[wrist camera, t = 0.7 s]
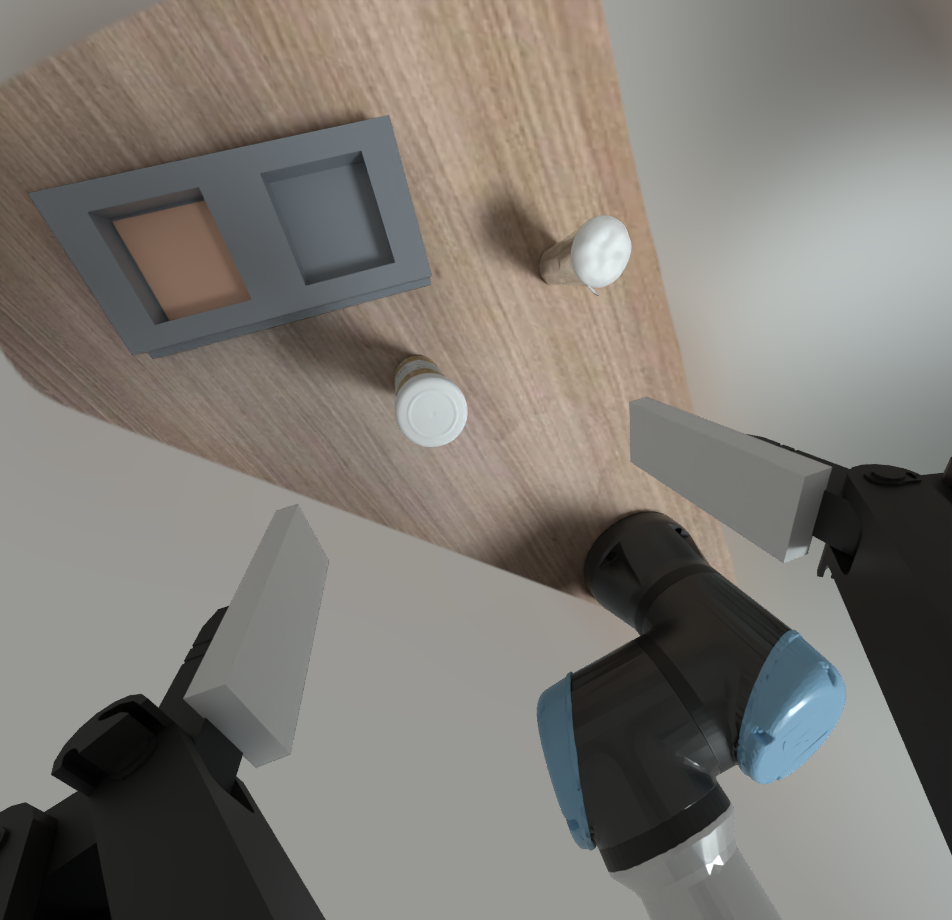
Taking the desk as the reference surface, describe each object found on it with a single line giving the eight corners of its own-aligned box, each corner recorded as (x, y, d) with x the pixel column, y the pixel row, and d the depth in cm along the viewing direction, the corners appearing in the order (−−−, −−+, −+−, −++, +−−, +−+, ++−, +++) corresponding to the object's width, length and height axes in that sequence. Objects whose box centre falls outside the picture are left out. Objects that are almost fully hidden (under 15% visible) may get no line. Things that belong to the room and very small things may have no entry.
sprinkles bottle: (419, 411, 35) (434, 462, 23) (383, 379, 33) (378, 416, 21) (451, 378, 35) (483, 412, 23) (416, 343, 33) (431, 360, 21)
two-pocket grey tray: (429, 284, 31) (433, 282, 29) (160, 357, 29) (136, 361, 26) (386, 126, 27) (386, 105, 24) (62, 198, 24) (20, 183, 22)
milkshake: (520, 289, 33) (569, 280, 24) (544, 228, 32) (605, 193, 23) (561, 309, 35) (621, 307, 26) (585, 251, 33) (658, 227, 24)
